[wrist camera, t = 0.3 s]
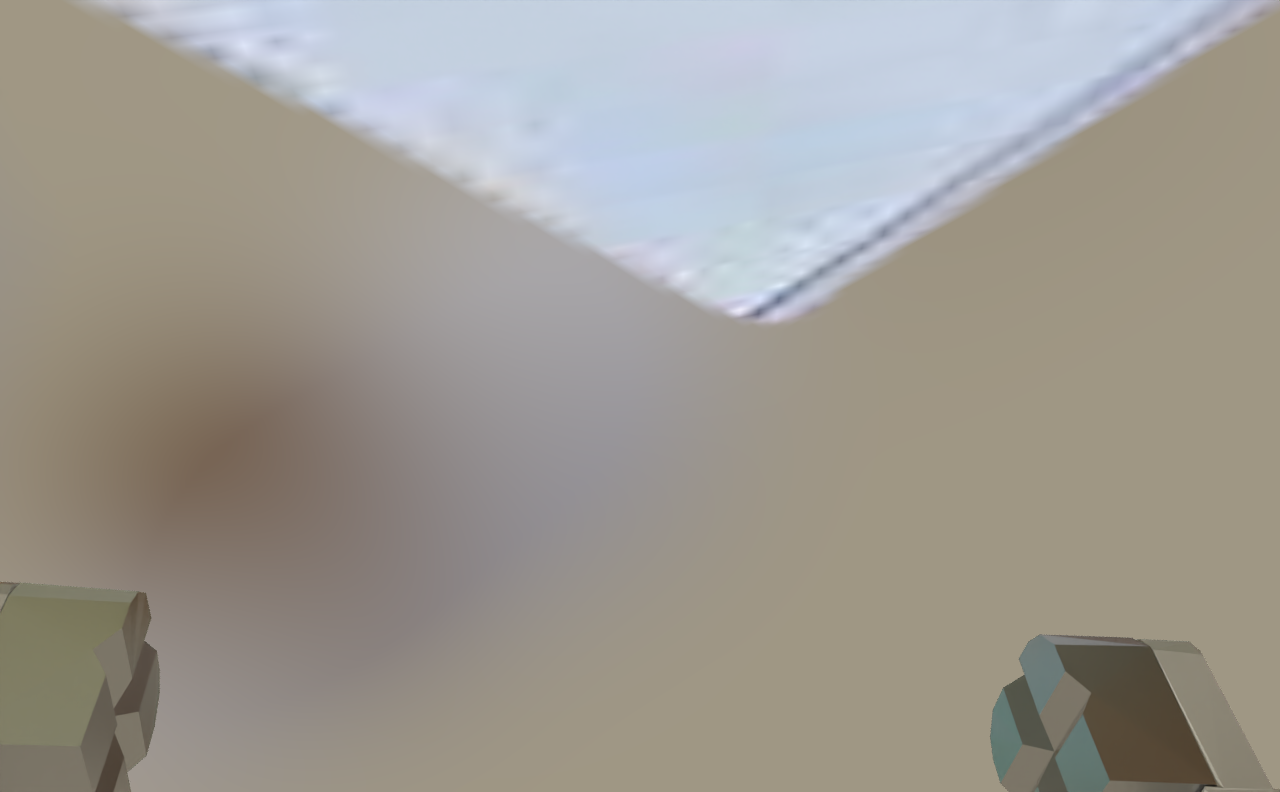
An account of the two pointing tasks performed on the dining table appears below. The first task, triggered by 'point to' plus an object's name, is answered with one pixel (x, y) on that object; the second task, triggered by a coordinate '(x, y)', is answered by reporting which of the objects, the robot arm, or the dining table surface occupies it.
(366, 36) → the dining table surface
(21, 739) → the robot arm
